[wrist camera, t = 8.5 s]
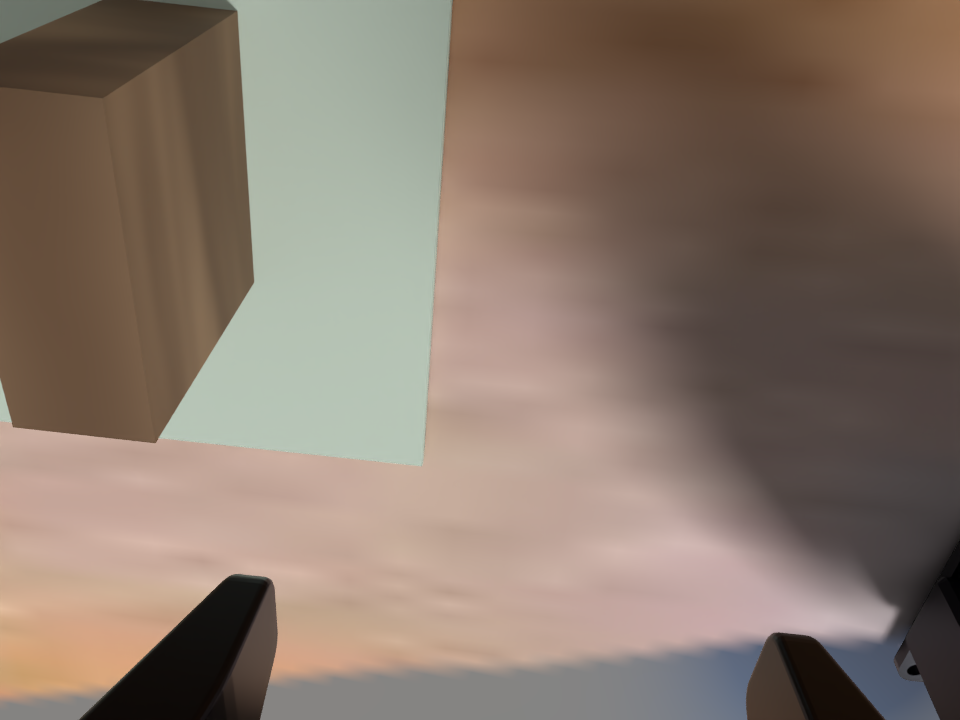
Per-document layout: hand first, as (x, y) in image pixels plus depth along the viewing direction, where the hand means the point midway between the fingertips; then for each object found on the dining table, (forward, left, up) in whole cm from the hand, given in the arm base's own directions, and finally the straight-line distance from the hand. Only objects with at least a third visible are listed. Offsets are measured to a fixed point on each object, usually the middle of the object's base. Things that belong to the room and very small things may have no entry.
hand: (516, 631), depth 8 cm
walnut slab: (+7, 0, -12) cm, 14 cm away
